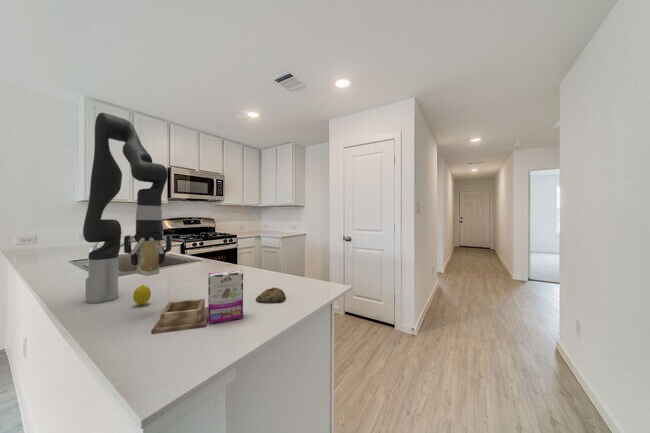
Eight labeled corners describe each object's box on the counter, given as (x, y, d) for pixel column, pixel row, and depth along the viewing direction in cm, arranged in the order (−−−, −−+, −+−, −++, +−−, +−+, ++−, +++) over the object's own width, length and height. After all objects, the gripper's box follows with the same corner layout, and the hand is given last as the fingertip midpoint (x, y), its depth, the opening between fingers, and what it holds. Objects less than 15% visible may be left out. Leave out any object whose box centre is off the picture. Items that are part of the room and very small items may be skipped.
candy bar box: (241, 313, 90) (241, 269, 90) (243, 319, 86) (244, 272, 85) (207, 319, 85) (208, 272, 85) (207, 325, 80) (208, 275, 80)
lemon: (141, 308, 93) (141, 287, 93) (129, 307, 94) (129, 286, 94) (154, 303, 98) (154, 283, 98) (142, 302, 99) (143, 282, 99)
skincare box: (135, 274, 86) (136, 239, 86) (148, 271, 91) (149, 238, 90) (147, 276, 84) (148, 241, 84) (160, 273, 88) (161, 240, 88)
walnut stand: (151, 333, 74) (151, 317, 74) (164, 314, 88) (164, 300, 88) (206, 326, 79) (206, 311, 79) (210, 309, 93) (210, 296, 93)
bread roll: (283, 304, 100) (283, 292, 100) (253, 304, 101) (253, 292, 101) (288, 294, 113) (288, 283, 113) (261, 293, 113) (262, 283, 113)
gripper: (174, 218, 93) (173, 261, 93) (129, 217, 88) (128, 263, 88) (169, 219, 86) (168, 265, 86) (119, 218, 81) (119, 267, 81)
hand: (148, 264), depth 87 cm, fingers closed on skincare box, 7 cm apart
